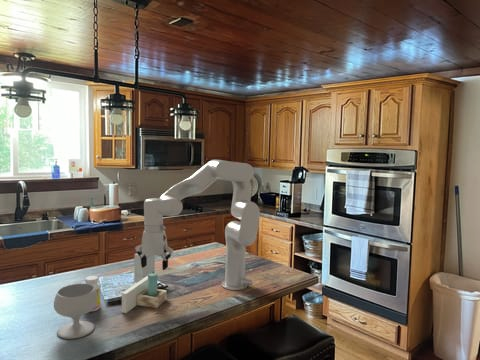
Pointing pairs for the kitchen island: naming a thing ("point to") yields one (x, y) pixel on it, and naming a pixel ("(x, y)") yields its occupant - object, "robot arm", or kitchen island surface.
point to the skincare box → (145, 271)
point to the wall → (133, 294)
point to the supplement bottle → (93, 281)
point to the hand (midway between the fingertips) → (154, 267)
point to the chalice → (75, 309)
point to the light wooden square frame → (151, 298)
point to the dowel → (152, 285)
